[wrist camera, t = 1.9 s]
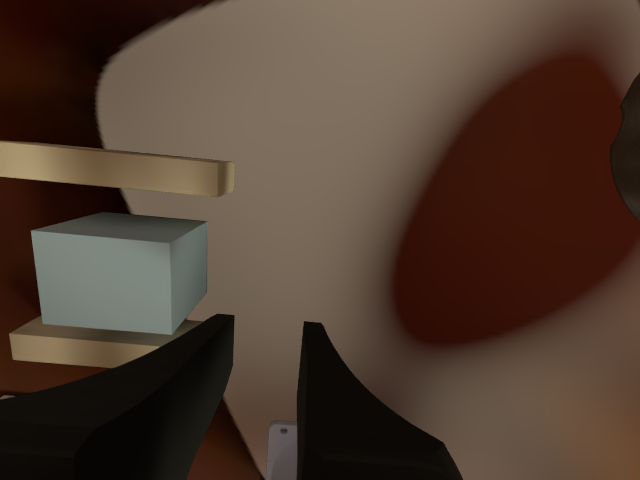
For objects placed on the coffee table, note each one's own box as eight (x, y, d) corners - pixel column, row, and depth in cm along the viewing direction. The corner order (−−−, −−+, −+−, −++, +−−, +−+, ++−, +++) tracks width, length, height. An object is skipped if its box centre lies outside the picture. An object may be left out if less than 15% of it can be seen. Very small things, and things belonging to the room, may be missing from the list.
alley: (234, 161, 18) (218, 163, 15) (228, 346, 21) (214, 376, 18) (34, 142, 18) (-21, 139, 15) (56, 331, 21) (13, 359, 18)
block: (207, 221, 19) (170, 243, 14) (206, 292, 20) (171, 334, 15) (104, 211, 19) (30, 230, 14) (109, 283, 20) (42, 324, 15)
